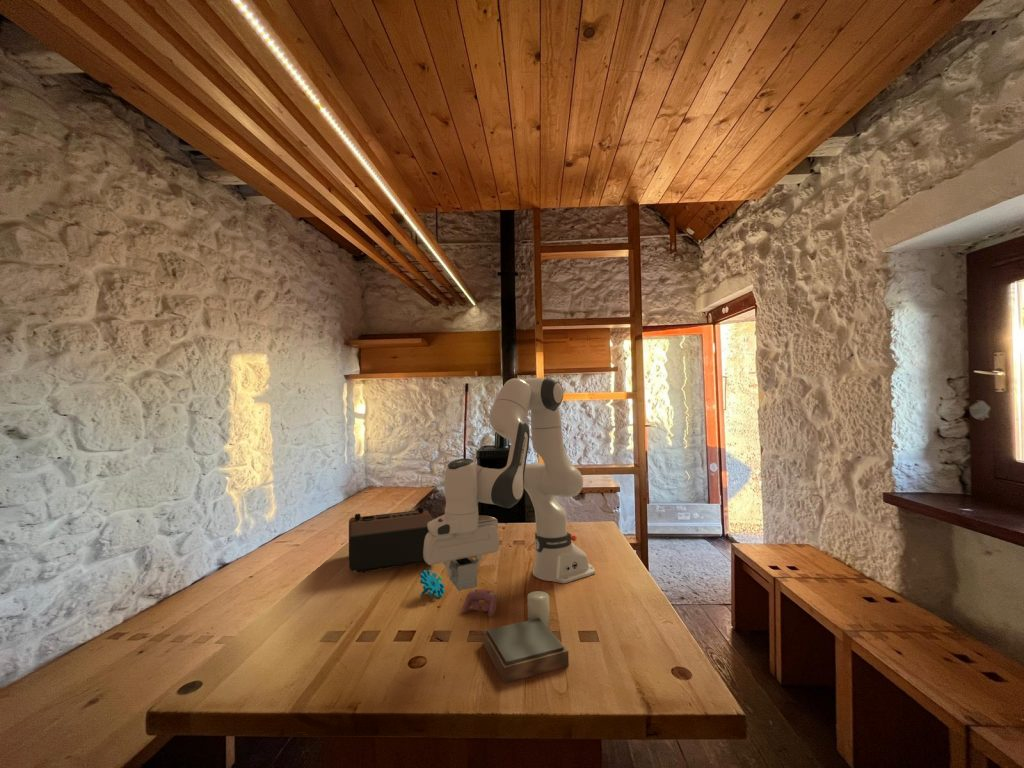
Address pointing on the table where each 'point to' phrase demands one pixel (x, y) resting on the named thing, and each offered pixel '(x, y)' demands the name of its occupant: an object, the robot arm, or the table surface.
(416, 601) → the table surface
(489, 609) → the video game controller
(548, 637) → the plinth
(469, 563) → the housing
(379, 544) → the radio receiver
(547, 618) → the pale grey capsule
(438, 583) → the gear
